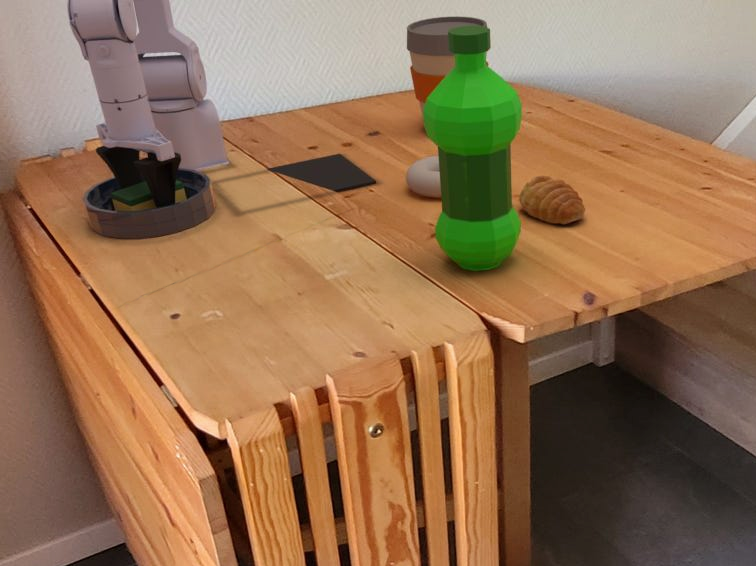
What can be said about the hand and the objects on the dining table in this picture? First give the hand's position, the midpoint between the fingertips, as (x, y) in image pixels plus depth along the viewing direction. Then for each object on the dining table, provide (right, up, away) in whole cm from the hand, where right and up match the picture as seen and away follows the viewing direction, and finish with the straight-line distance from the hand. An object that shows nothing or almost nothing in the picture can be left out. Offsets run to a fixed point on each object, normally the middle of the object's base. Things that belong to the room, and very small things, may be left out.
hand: (151, 204), depth 127 cm
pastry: (+53, -2, -3) cm, 53 cm away
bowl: (0, -2, +1) cm, 2 cm away
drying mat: (+17, +6, +10) cm, 20 cm away
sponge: (0, -1, +1) cm, 1 cm away
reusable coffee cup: (+39, +20, +26) cm, 51 cm away
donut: (+38, +4, +6) cm, 39 cm away
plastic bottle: (+43, -11, -14) cm, 47 cm away
